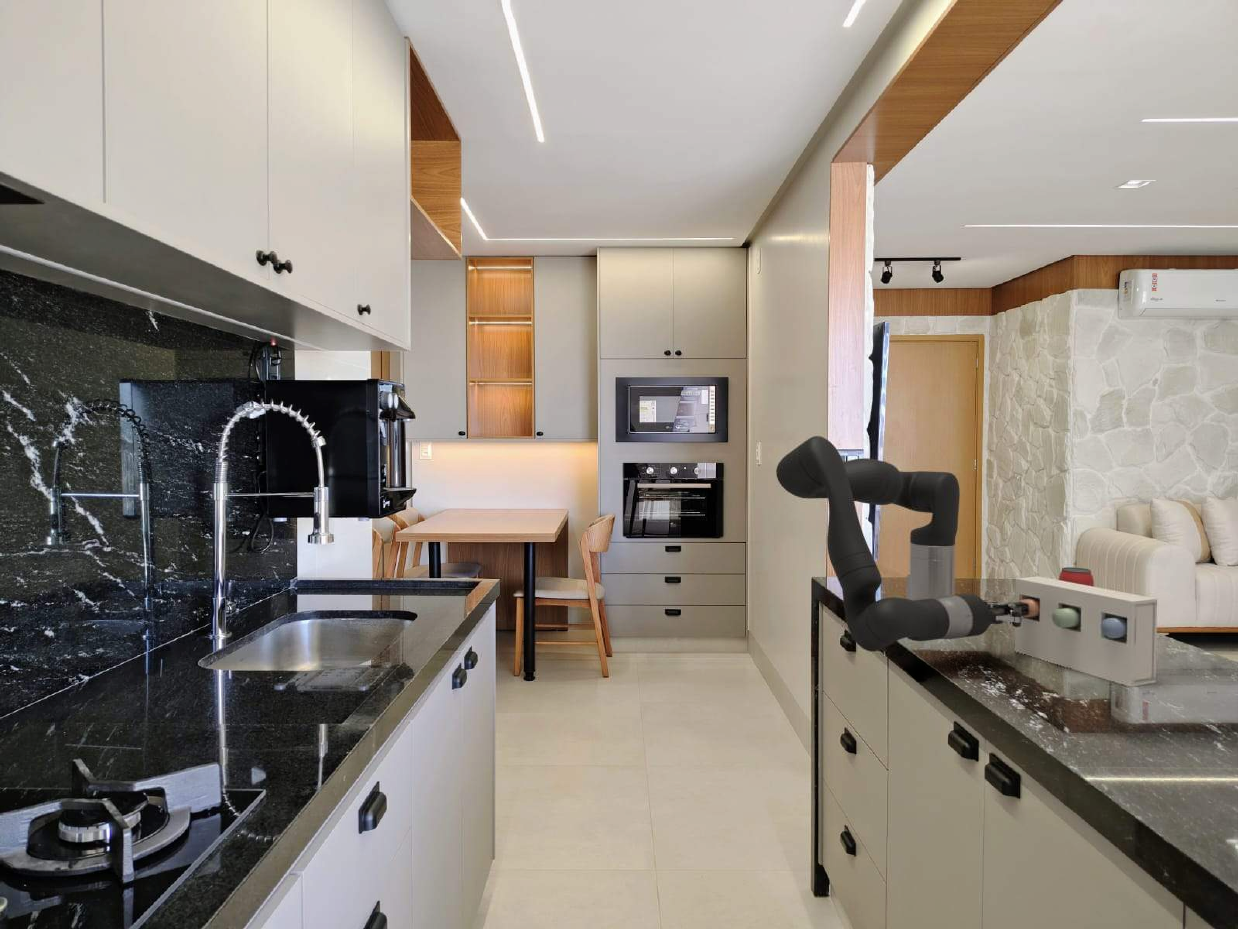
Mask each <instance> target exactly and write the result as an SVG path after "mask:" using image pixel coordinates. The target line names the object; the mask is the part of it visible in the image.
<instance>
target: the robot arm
mask: <svg viewBox="0 0 1238 929" xmlns="http://www.w3.org/2000/svg"><path fill="white" fill-rule="evenodd" d="M775 474H776V478H777V481H778V483H779V484H780V486H781V487H782V488H783V489H784V490H785V491H786V492H787V493H789V494H791V495H793V496H795V497H797V498H800V499H814V500H815V499H827V501H828V502H827V503H828V525H827V526H828V527H827V537H826V539H827V541H826V543H827V545H826V546H827V553H828V558H829V562H830V564H831V566H832V568H833V571H834V573H835V575H836V578H837V581H838V583H839V585H840V587H841V589H842V600H843V601H842V602H843V607H844V612H845V613H844V614H845V620H846V623H847V624H846V625H847V628H848V631H849V633H850V635H851V637H852V639H853V640H854V643H856V644H857V645H858V647H860V648H861V649H863V650H865V651H867V652H878V651H881V650H883V649H885V648H887V647H888V646H890V645H892V644H893V643H896V642H897V641H899V640H902V639H905V638H907V639H908V640H911V641H915V642H927V641H934V640H955V639H961V638H962V639H963V638H972V637H978V636H981V635H983V634H984V633H985V632H986V631H987V630H988V628H989V627H995V626H996V627H997V626H998V625H1001V624H1006V623H1008V622H1009V625H1012V627H1014V628H1015V627H1020V625H1021V616H1025V615H1028V614H1029V604H1028V603H1023V602H1006V601H997V600H995V599H991V600H989V599H987V600H986V599H982V598H981V597H980V596H979V595H977V594H975V593H972V592H971V593H970V592H967V593H960V594H958V593H957V594H955V586H956V584H955V581H956V580H955V579H956V578H955V577H956V575H955V574H956V572H955V570H956V538H957V533H958V526H959V525H958V524H959V511H960V510H959V509H960V498H961V494H960V490H961V489H960V483H959V480H958V478H957V476H956V475H955V474H953V473H952V472H948V471H947V472H946V471H929V470H928V471H924V470H923V471H922V470H921V471H919V470H918V471H917V470H916V471H900V470H899V469H898V468H897V467H896V466H895V465H894V464H892V463H889V462H887V461H884V460H878V459H874V458H866V457H863V458H856V459H851V460H847V461H846V460H845V461H843V459H842V457H841V454H840V452H839V451H838V449H837V448H836V447H835V445H834V444H833V443H832V442H831V441H830V440H829V439H827V438H825V437H823V436H820V435H815V436H812V437H810V438H808V439H807V440H805V441H804V442H802V443H800V445H798V446H797V447H795V448H794V449H792V450H791V451H790V452H788V453H787V454H786V455H784V457H783V458H782V459H781V460H780V461H779V462H778V464H777V467H776V473H775ZM855 502H859V503H862V504H868V505H874V506H888V505H895V506H899V507H902V508H904V509H907V510H910V511H913V512H917V513H925V514H926V513H929V514H932V516H931V519H930V522H928V524H925V525H923V526H920V527H915V528H914V529H912V530H911V531H910V536H909V539H910V542H909V543H910V544H909V546H910V547H909V548H910V549H909V550H910V553H909V554H910V555H909V559H910V560H909V574H908V575H906V591H905V592H906V593H905V594H906V595H905V596H906V598H902V597H885V598H881V599H878V600H876V593H877V591H878V590H879V588H880V586H881V585H882V582H883V579H882V575H881V573H880V569H879V568H878V566H877V564H876V561H875V558H874V556H873V554H872V551H871V550H870V547H869V545H868V542H867V540H866V538H865V535H864V533H863V529H862V526H861V523H860V520H859V516H858V515H859V514H858V512H857V507H856V504H855Z"/></svg>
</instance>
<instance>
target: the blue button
mask: <svg viewBox="0 0 1238 929" xmlns="http://www.w3.org/2000/svg"><path fill="white" fill-rule="evenodd" d="M1101 630H1102V632H1103V634H1104V635H1105V636H1107V637H1108V638H1119V637H1126V636H1127V618H1126V617H1117V618H1109V619H1105V620H1103V621H1102V623H1101Z"/></svg>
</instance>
